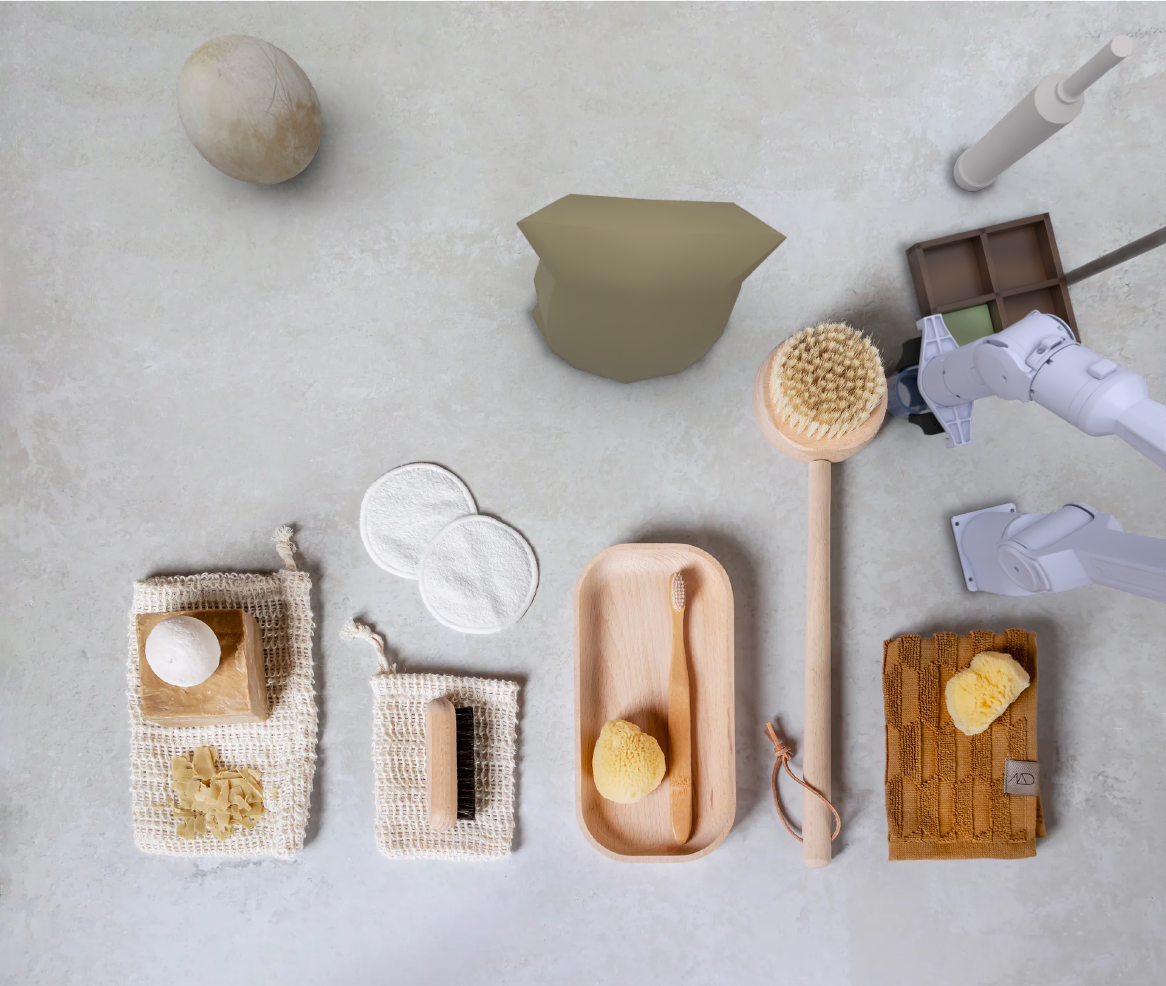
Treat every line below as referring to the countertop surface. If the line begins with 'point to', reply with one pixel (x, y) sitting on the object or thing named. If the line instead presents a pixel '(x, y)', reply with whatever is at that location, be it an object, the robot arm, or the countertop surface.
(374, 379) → the countertop surface
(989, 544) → the robot arm
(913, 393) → the cup
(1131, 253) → the tray
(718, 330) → the container
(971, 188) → the bottle
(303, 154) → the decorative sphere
